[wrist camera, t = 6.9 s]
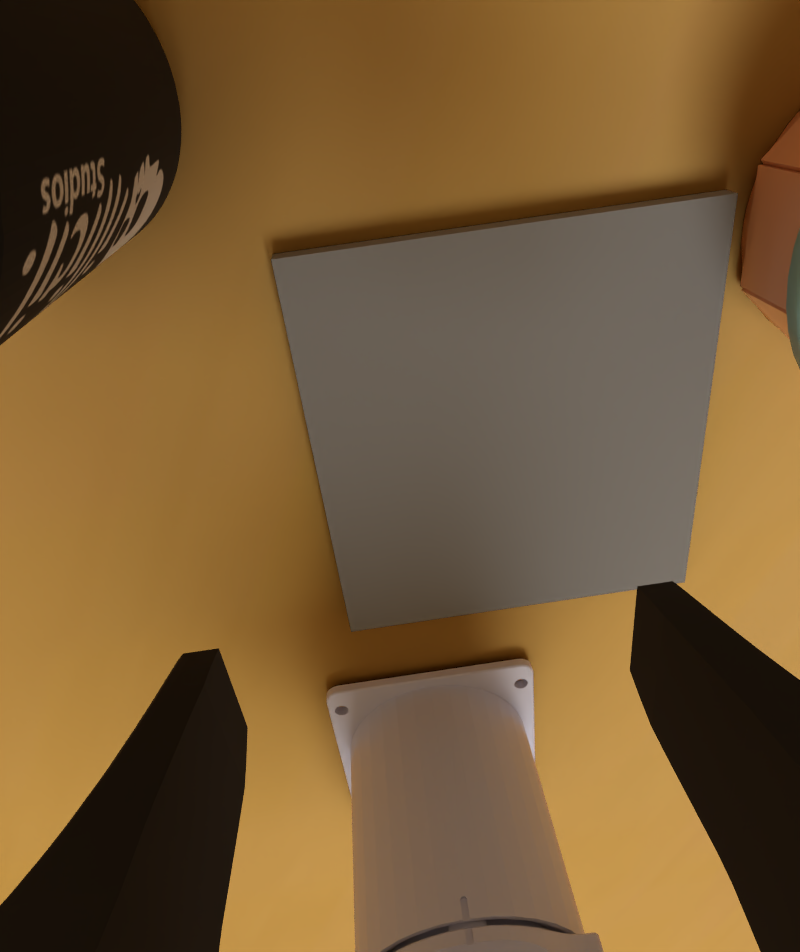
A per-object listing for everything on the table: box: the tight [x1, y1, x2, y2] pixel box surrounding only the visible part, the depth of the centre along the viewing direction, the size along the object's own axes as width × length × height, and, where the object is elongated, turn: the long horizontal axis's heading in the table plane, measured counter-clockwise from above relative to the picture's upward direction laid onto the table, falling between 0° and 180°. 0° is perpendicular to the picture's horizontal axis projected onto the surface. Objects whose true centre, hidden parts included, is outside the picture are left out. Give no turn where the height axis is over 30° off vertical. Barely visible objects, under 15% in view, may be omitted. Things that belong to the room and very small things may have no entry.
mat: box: [271, 190, 738, 632], centre depth 21 cm, size 13×12×1 cm
